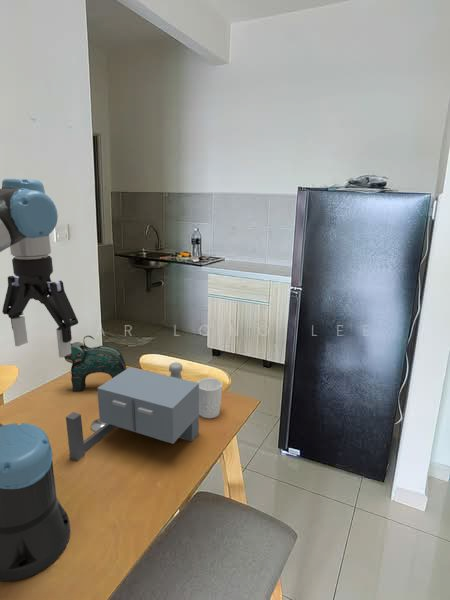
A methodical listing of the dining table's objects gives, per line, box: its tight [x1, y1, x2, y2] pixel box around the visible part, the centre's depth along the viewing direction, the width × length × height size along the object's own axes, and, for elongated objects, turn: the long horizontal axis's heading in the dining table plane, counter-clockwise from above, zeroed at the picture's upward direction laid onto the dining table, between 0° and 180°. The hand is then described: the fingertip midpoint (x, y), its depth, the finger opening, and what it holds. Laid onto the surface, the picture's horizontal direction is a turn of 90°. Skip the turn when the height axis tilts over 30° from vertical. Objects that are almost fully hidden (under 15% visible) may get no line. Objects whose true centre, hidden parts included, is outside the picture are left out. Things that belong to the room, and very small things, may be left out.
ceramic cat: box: [63, 335, 127, 393], centre depth 128 cm, size 20×6×20 cm, turn 91°
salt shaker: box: [168, 361, 183, 379], centre depth 123 cm, size 6×6×13 cm
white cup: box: [196, 377, 223, 419], centre depth 117 cm, size 8×8×10 cm
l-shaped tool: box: [65, 411, 117, 461], centre depth 103 cm, size 18×2×12 cm, turn 156°
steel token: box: [90, 417, 106, 433], centre depth 110 cm, size 6×6×1 cm
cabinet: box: [96, 366, 200, 444], centre depth 103 cm, size 15×23×16 cm, turn 67°
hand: (42, 349), depth 85 cm, fingers open, 13 cm apart
